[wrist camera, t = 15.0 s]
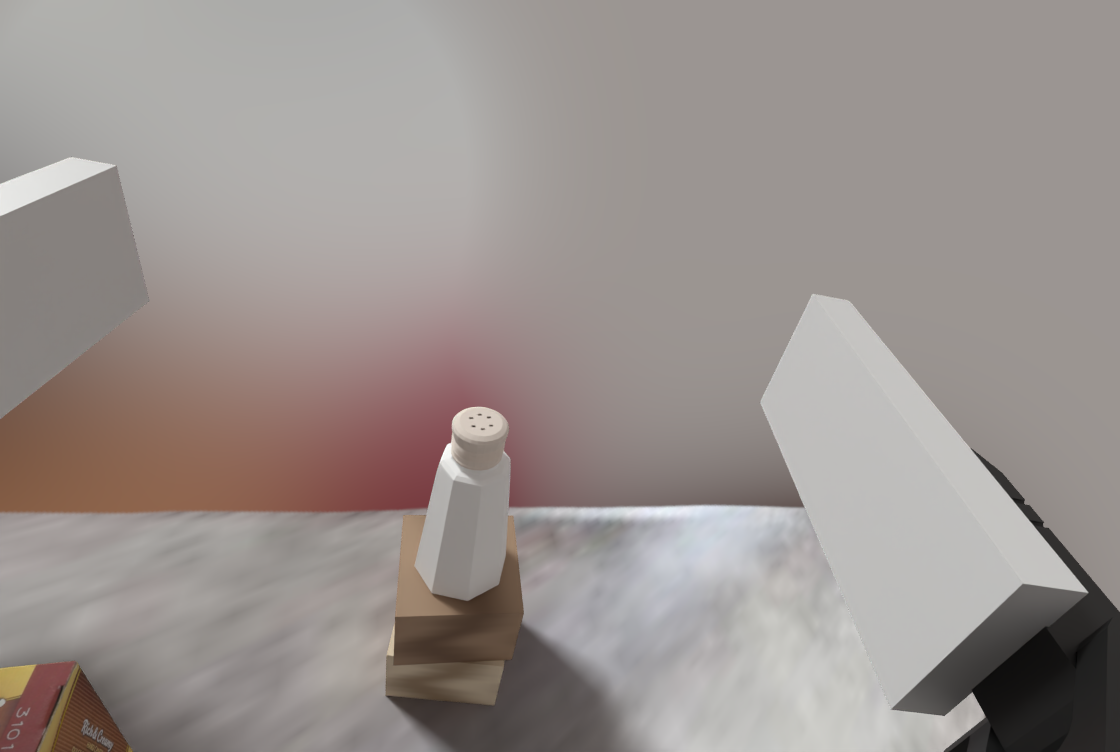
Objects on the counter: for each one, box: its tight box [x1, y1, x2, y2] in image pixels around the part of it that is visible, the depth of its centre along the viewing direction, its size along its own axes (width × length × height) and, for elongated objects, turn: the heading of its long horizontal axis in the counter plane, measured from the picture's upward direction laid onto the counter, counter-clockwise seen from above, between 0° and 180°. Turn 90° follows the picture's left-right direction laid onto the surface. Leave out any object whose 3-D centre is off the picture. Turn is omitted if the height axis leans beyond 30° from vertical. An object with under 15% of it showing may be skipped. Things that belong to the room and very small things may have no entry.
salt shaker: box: [414, 407, 511, 601], centre depth 32 cm, size 5×5×11 cm
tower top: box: [393, 515, 524, 666], centre depth 36 cm, size 7×7×5 cm
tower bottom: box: [385, 624, 504, 706], centre depth 39 cm, size 7×7×5 cm
